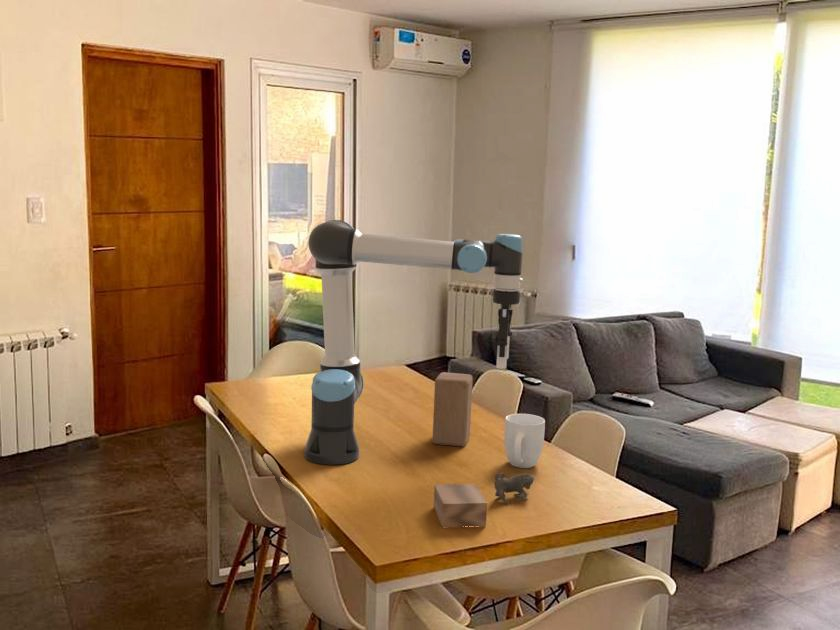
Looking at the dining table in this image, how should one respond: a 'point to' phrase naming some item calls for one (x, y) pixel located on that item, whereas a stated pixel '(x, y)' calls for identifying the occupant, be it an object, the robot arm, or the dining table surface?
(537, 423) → the mug
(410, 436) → the dining table surface
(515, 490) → the grey animal figure
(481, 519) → the walnut block
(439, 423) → the wooden block
